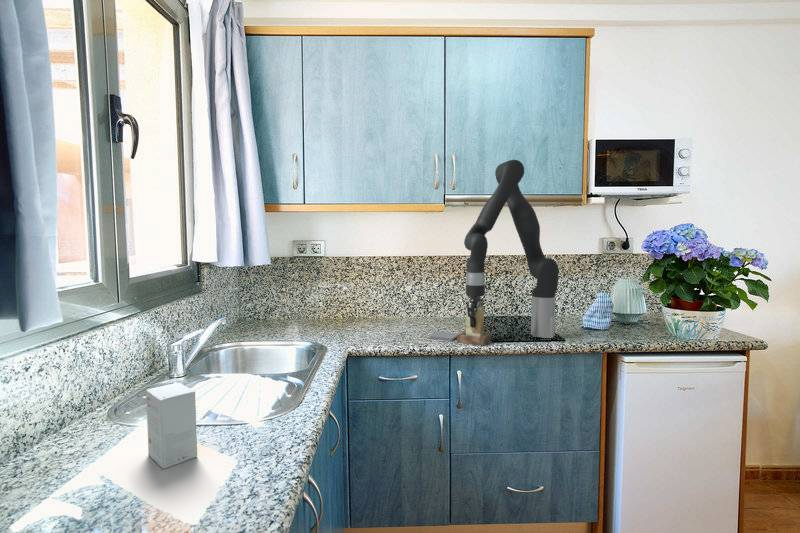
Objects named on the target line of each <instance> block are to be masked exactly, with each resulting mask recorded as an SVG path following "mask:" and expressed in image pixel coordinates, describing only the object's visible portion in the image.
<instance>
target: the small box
mask: <svg viewBox="0 0 800 533" xmlns="http://www.w3.org/2000/svg"><path fill="white" fill-rule="evenodd" d="M145 393H146V397H145V398H146V424H147V445H148V447H147V448H148V450H147V451H148V452H147V453H148V455H149V456H150V457H151V458H152V460H154V461H155V462H156V463H157V465H159V467H161V469H163V470H164V469H167V468H170V467H173V466H176V465H178V464H181V463H184V462H187V461H189V460H192V459H195V458H197V457H198V439H197V438H198V435H197V410H196V409H197V408H196V391H195V390H193V389H192V388H190V387H188V386H187V385H185V384H183V383H181V382H179V381H178V382H174V383H170V384H166V385H162V386H161V385H160V386H156V387H153V388H147V389H146V390H145Z"/></svg>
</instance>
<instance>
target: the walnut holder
mask: <svg viewBox="0 0 800 533" xmlns="http://www.w3.org/2000/svg"><path fill="white" fill-rule="evenodd" d="M490 341H492V332H490V331H483V336H481V337H477V336H469V335H466V329H465V330H463V331H461V332H460V333H459V334H458V335H457V338H456V343H457V344H465V345H466V344H467V345H471V346H472V345H474V346H481V347H483V346H485V345H487V344H488V343H489V342H490Z"/></svg>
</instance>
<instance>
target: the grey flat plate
mask: <svg viewBox="0 0 800 533" xmlns="http://www.w3.org/2000/svg"><path fill="white" fill-rule="evenodd" d="M458 334H460V333H458V332H449V331H443V330H442V331H441V330H438V331H436V332H434V333H433V334H430V335H429V337H428V339H430V340H431V339H433V340H442V341H448V342H453V341H455V340H457V335H458Z"/></svg>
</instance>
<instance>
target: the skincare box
mask: <svg viewBox="0 0 800 533" xmlns="http://www.w3.org/2000/svg"><path fill="white" fill-rule="evenodd" d="M474 310H476V308H475V309H474ZM465 317H466V319H465V321H466V322H465V323H466V324H465V330H466V335H469V336H477V337H481V336H483V332H484V325H485V322H484V321H485V306H478V312H477V313H476V327H470V317H468V311H467V310H466V316H465Z"/></svg>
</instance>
